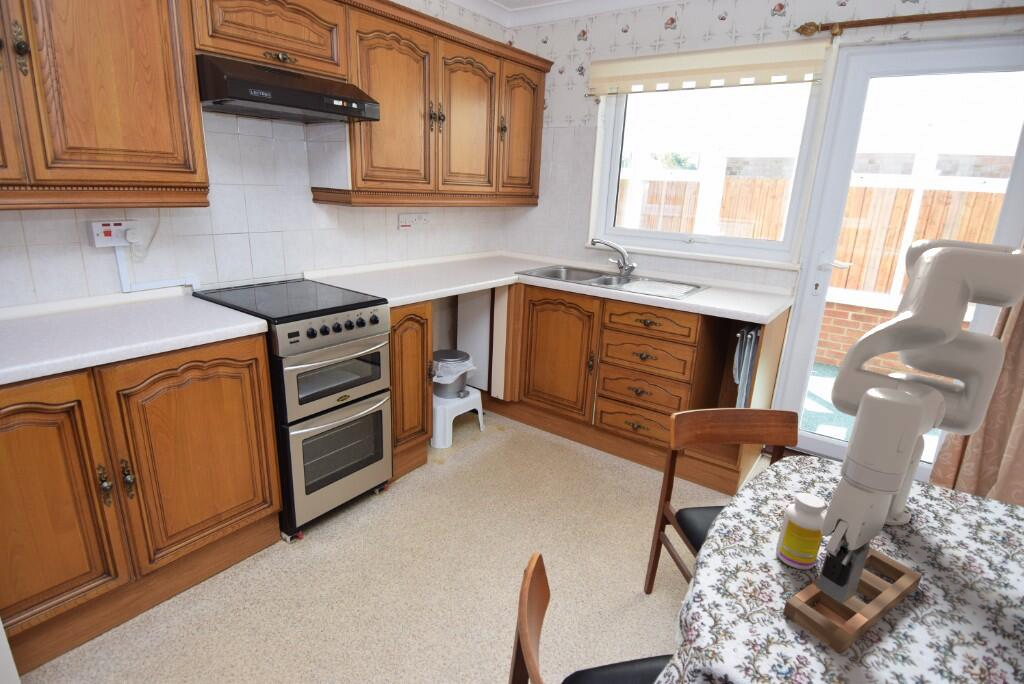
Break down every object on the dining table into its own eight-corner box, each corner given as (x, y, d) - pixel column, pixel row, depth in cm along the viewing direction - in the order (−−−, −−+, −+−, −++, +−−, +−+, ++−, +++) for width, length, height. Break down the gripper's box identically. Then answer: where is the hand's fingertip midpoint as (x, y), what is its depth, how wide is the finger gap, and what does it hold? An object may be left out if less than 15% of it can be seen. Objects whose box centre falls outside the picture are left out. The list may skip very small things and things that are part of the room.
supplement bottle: (819, 574, 96) (837, 513, 93) (780, 567, 98) (796, 507, 94) (807, 550, 103) (823, 492, 99) (771, 544, 104) (785, 486, 100)
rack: (863, 556, 102) (867, 545, 101) (917, 586, 95) (922, 574, 94) (783, 613, 87) (786, 600, 86) (840, 654, 80) (844, 640, 79)
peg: (828, 578, 87) (842, 531, 84) (854, 594, 84) (870, 546, 81) (816, 587, 85) (830, 539, 82) (842, 604, 82) (857, 555, 79)
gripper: (870, 448, 85) (841, 544, 91) (816, 473, 76) (787, 578, 82) (925, 470, 80) (890, 572, 85) (873, 500, 70) (838, 612, 76)
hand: (840, 574), depth 83 cm, fingers closed on peg, 4 cm apart
